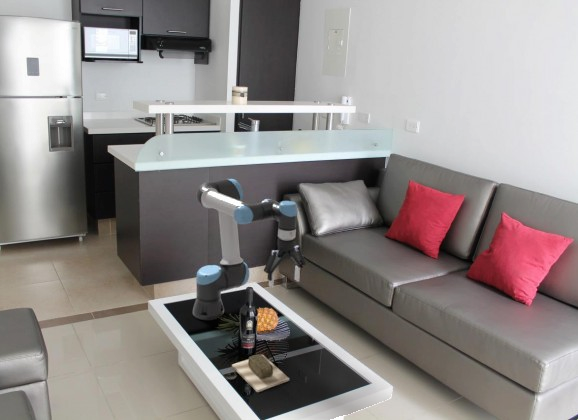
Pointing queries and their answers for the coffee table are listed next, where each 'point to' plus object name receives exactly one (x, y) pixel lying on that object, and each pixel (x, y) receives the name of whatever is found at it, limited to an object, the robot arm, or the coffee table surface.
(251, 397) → the coffee table surface
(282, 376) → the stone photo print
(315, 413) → the coffee table surface
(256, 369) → the stone block
